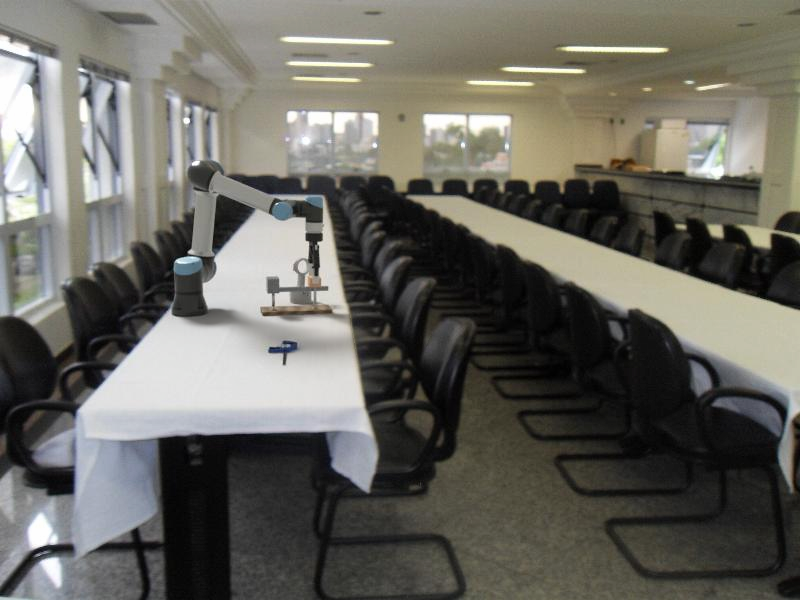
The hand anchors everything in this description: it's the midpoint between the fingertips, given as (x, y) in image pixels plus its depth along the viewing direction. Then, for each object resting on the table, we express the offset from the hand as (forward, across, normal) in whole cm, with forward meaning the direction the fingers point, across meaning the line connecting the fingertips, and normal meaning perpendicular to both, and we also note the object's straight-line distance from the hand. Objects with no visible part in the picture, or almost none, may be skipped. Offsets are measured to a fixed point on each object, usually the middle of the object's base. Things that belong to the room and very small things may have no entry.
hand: (313, 280), depth 347 cm
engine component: (+14, +23, +2) cm, 27 cm away
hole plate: (+14, 0, +8) cm, 15 cm away
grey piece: (+12, 0, +7) cm, 14 cm away
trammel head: (+11, 0, 0) cm, 11 cm away
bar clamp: (+14, -76, +21) cm, 80 cm away
